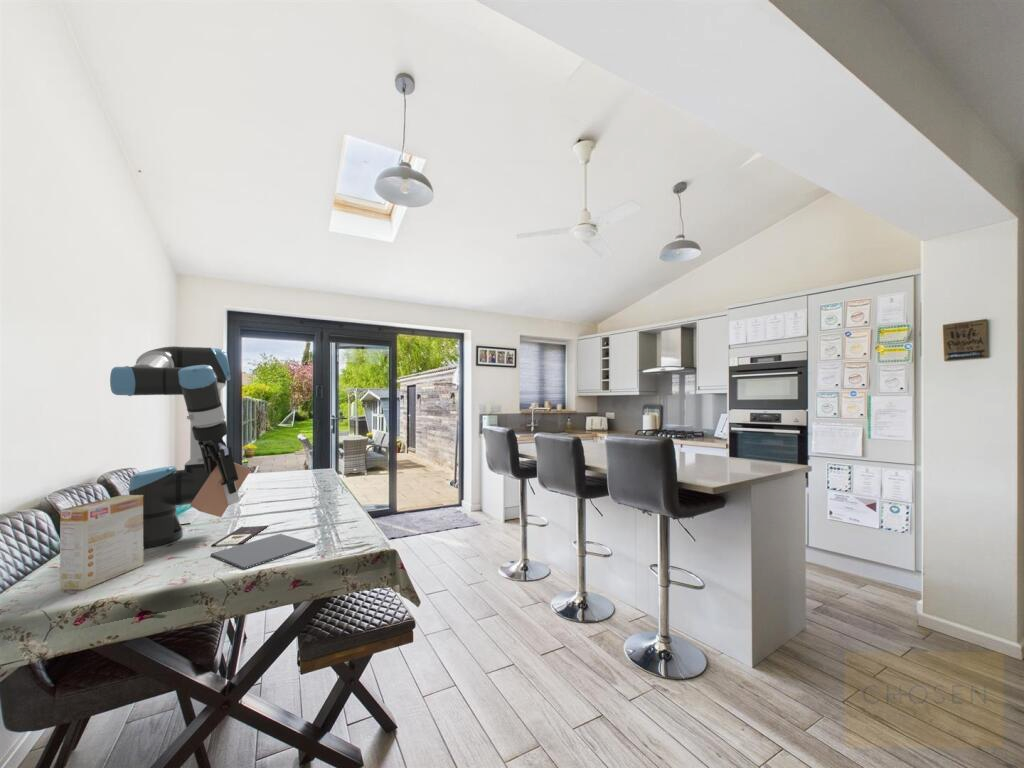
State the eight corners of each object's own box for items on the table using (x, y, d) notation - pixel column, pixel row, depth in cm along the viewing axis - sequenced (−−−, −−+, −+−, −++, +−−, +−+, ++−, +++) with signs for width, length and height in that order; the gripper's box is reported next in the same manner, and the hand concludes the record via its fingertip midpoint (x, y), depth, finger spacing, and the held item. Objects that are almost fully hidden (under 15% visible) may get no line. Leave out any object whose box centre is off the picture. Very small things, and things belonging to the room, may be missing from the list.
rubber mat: (210, 555, 121) (210, 553, 121) (280, 535, 138) (280, 533, 138) (244, 569, 110) (244, 567, 110) (315, 545, 127) (315, 543, 127)
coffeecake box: (121, 565, 115) (122, 494, 116) (144, 565, 115) (145, 494, 115) (57, 589, 100) (58, 508, 101) (83, 590, 100) (84, 508, 100)
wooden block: (189, 505, 112) (221, 457, 117) (210, 511, 117) (240, 465, 122) (199, 511, 109) (231, 462, 114) (221, 517, 113) (251, 469, 119)
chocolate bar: (268, 525, 147) (242, 542, 130) (268, 528, 147) (242, 546, 130) (240, 527, 146) (211, 544, 128) (240, 529, 146) (211, 548, 128)
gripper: (177, 422, 113) (197, 497, 119) (209, 433, 103) (229, 515, 109) (208, 413, 119) (226, 485, 125) (241, 424, 109) (259, 501, 115)
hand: (227, 499), depth 117 cm, fingers closed on wooden block, 6 cm apart
